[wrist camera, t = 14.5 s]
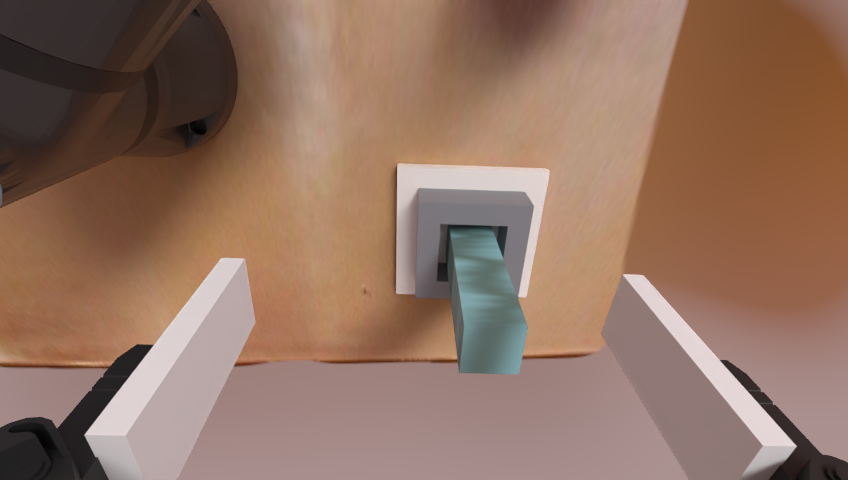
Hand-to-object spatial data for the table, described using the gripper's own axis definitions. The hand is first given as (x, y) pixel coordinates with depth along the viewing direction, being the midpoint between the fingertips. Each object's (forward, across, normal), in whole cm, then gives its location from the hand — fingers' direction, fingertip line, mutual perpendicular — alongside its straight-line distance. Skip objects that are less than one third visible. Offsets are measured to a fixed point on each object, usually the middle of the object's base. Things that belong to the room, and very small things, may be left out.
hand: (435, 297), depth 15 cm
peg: (+24, +5, -10) cm, 27 cm away
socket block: (+25, +5, -10) cm, 27 cm away
